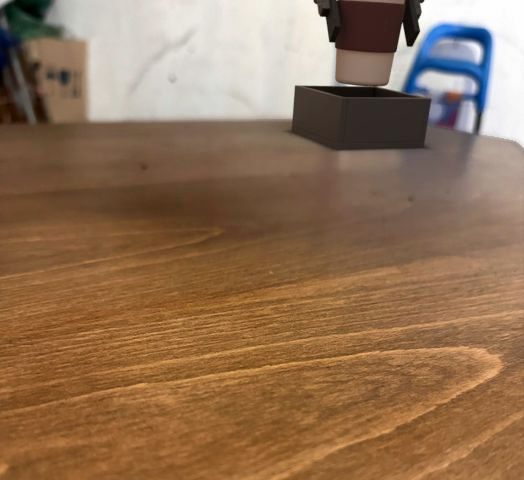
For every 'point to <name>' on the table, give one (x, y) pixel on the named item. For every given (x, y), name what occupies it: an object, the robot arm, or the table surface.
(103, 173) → the table surface
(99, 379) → the table surface
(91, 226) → the table surface
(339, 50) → the coffee cup
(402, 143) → the basket
